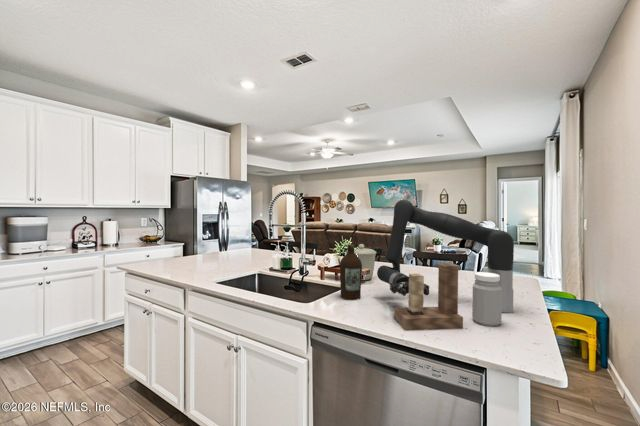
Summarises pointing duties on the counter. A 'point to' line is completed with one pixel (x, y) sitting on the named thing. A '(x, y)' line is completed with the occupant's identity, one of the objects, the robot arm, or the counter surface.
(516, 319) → the counter surface
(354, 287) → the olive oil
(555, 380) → the counter surface
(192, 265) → the counter surface
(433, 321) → the brown wooden stand
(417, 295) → the beige wooden post
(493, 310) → the jar
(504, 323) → the counter surface
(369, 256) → the canister
